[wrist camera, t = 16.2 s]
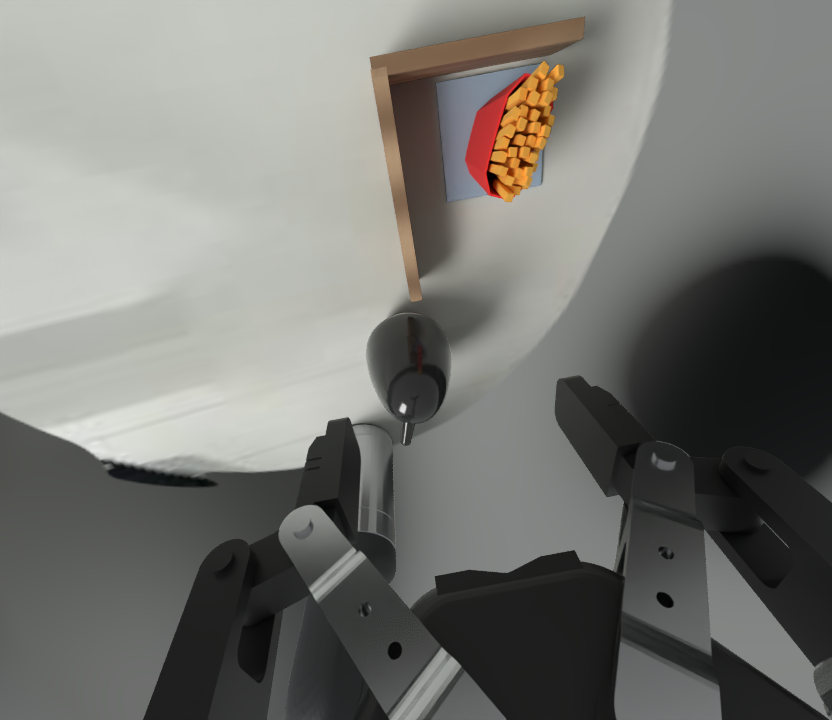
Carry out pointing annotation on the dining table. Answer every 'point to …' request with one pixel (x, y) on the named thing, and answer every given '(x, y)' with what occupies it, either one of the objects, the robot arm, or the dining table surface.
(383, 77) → the wooden corner bracket
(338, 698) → the robot arm
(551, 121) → the french fries
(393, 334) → the pump dispenser
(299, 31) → the dining table surface
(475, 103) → the mat
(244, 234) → the dining table surface
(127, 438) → the dining table surface
